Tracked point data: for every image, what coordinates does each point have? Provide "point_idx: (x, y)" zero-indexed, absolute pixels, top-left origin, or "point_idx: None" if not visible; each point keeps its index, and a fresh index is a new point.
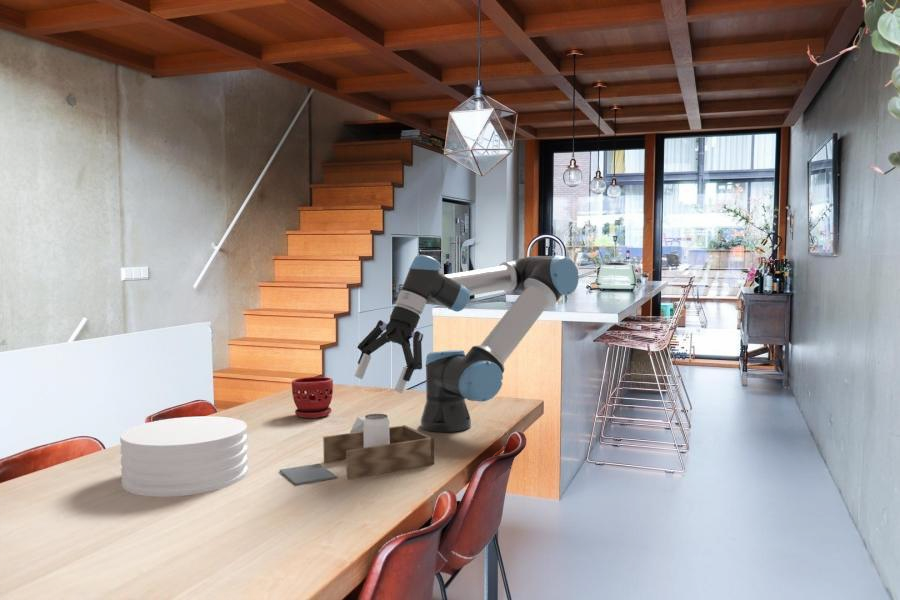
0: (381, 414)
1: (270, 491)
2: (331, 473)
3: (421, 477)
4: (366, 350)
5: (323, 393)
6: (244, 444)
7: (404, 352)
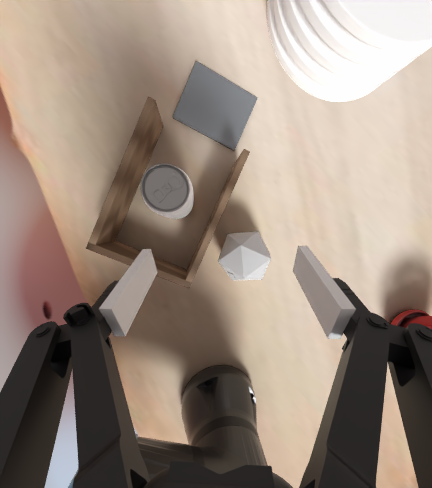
0: (170, 210)
1: (205, 26)
2: (187, 121)
3: (79, 184)
4: (359, 326)
5: None
6: (304, 8)
7: (101, 382)
